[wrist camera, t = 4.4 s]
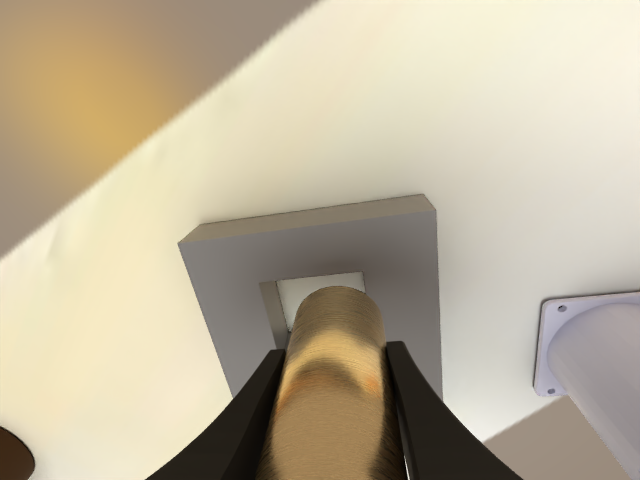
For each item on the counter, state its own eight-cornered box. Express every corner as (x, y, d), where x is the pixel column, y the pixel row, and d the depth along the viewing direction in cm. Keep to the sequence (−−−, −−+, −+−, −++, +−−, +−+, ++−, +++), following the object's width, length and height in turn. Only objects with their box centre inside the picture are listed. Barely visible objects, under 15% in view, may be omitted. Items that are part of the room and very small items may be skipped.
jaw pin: (384, 286, 14) (422, 484, 7) (381, 359, 16) (410, 587, 8) (292, 285, 14) (233, 473, 7) (298, 357, 16) (255, 574, 9)
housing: (423, 194, 19) (436, 209, 16) (434, 414, 26) (444, 451, 23) (199, 224, 21) (177, 243, 18) (263, 422, 28) (254, 458, 25)
